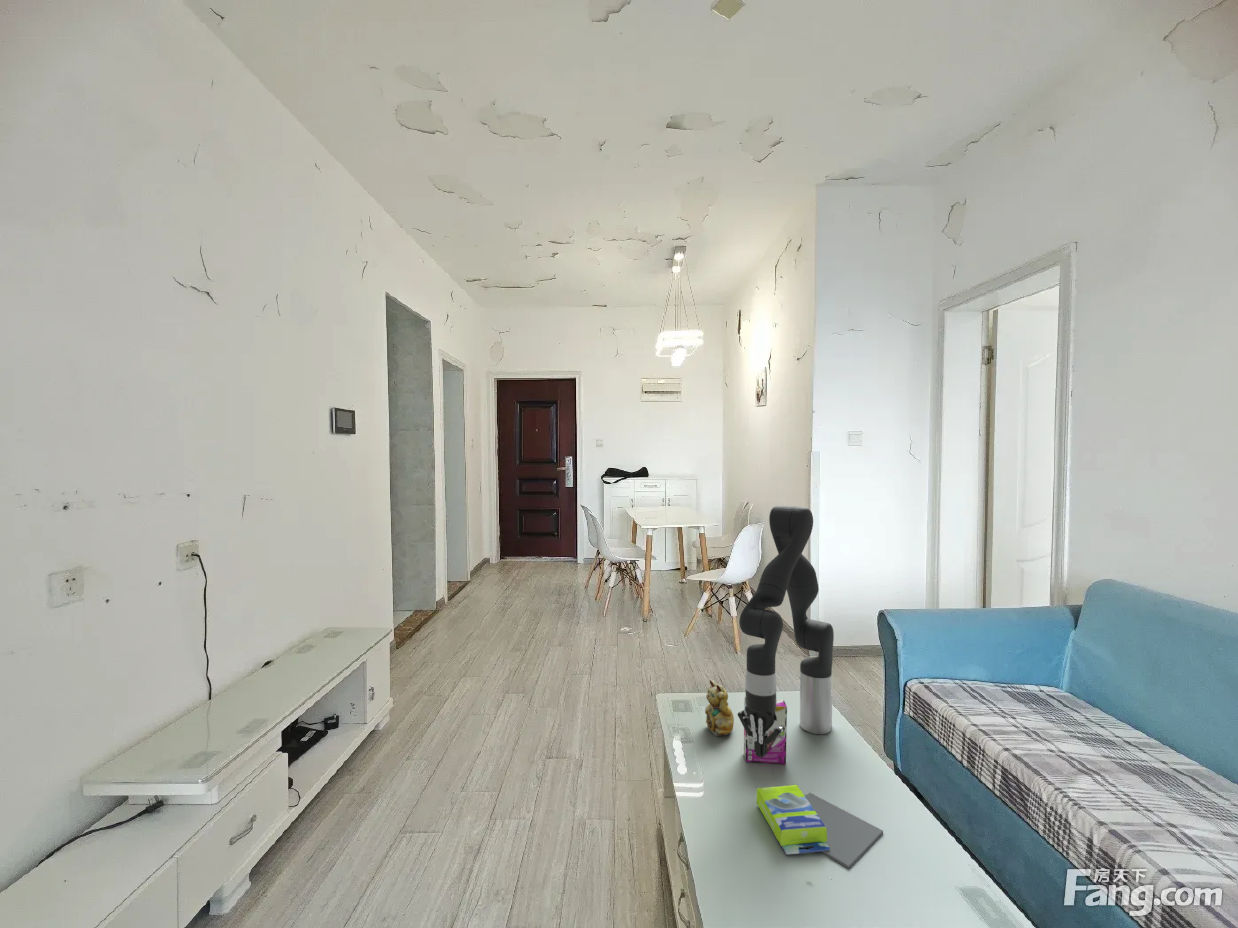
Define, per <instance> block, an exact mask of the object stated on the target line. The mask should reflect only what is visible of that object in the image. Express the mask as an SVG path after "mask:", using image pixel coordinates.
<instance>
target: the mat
mask: <svg viewBox="0 0 1238 928" xmlns="http://www.w3.org/2000/svg"><path fill="white" fill-rule="evenodd" d="M804 796H805V797H806V799H807V800H808V801H809V803H810V804H811V806H812V807H813V809H814V810H815V812H816V813H817V814H818V816H819V817H820V819H821V820H822V822H823V823H824V824H825V826H826V828H827V841H826V844H827V845H828V847H829V848H830V850H828V851H819V852H820V853H821V854H824V855H825V857H828V858H830V859H832V860H833V861H835V862H837V863H838V864H840V865H842V866H844V867H845V868H846V869H850V868H851V867H853V865H854V864H855V863H856V862H857V861H858V860H859V859H860V858H861V857H862V856H863V855H864V854H865V853H866V852H867V851H868V850H869V848H871V846H873V845H874V843H876V841H877V840H878V839H879V838H880V837H882V835H883V834H884V829H880V828H879V827H878V826H875V825H873V824H871V823H870V822H867V821H866V820H864V819H861V818H860V817H857V816H856V815H854V814H852V813H850V812H848V811H846V810H845V809H842V808H840V807H838V806H836V805H835V804H832V803H831V802H829V801H827V800H825V799H823V798H821V797H819V796H817V795H816V794H813V793H812V792H808V793H807V794H806V795H804Z"/></svg>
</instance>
